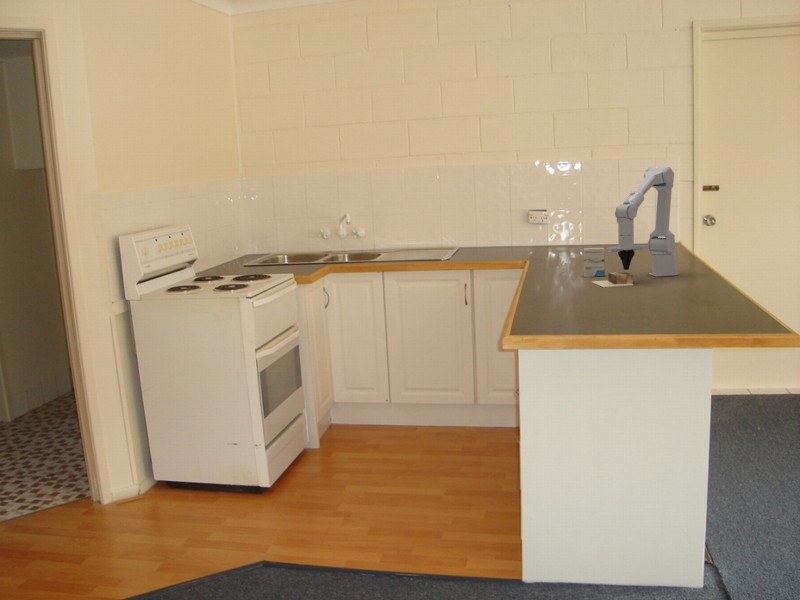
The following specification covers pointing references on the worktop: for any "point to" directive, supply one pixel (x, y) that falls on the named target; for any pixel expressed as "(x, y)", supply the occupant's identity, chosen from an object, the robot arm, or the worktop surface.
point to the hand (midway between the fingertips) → (626, 269)
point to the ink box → (594, 262)
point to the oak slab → (620, 278)
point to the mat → (609, 284)
